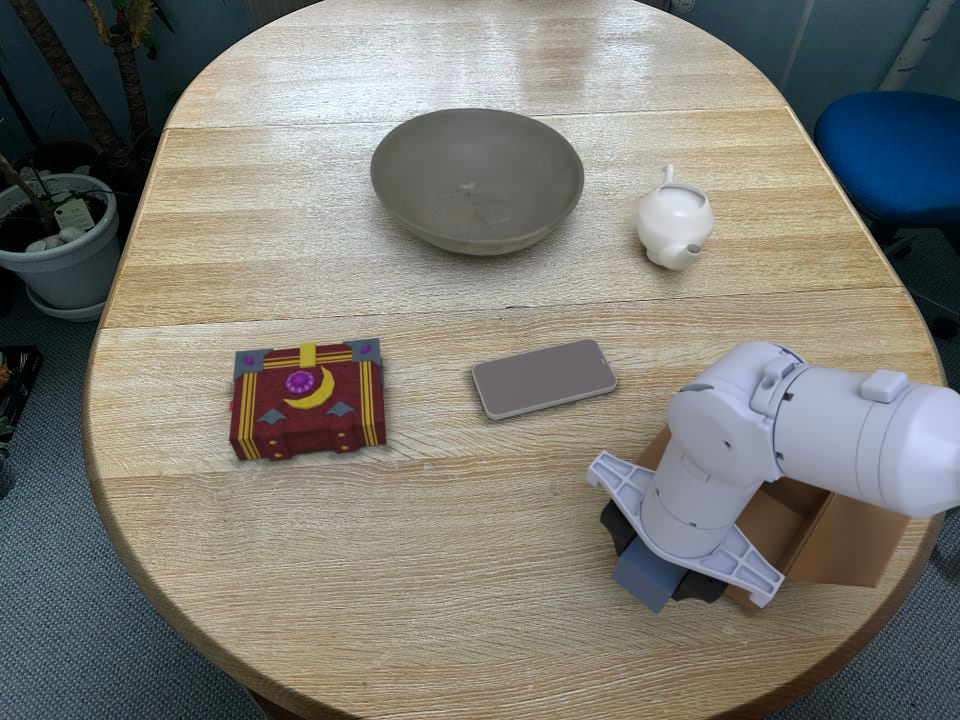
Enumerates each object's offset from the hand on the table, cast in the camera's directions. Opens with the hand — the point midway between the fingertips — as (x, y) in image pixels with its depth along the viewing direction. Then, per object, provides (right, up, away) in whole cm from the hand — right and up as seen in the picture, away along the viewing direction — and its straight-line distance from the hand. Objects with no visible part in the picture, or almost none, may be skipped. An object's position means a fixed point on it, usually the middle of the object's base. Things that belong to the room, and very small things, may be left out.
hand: (652, 569), depth 54 cm
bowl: (-14, +36, +38) cm, 55 cm away
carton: (+8, +2, +11) cm, 14 cm away
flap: (+16, +4, -1) cm, 16 cm away
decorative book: (-32, +11, +18) cm, 38 cm away
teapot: (+10, +31, +35) cm, 47 cm away
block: (0, -1, +1) cm, 1 cm away
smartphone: (-7, +14, +21) cm, 26 cm away
